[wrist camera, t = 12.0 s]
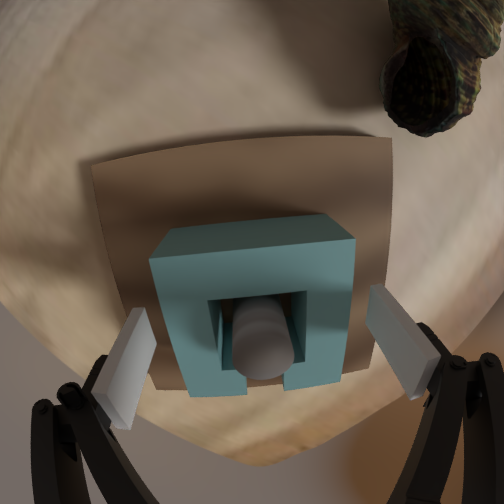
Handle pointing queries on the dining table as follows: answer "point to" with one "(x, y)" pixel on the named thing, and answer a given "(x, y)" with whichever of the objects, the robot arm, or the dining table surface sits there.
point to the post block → (242, 209)
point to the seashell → (438, 60)
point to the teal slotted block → (255, 284)
